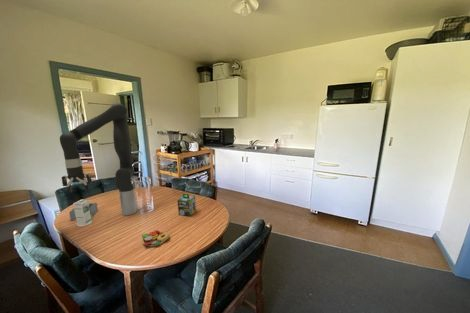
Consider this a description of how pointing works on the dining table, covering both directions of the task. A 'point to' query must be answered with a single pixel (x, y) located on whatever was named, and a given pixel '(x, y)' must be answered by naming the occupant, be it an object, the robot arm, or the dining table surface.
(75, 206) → the syrup box
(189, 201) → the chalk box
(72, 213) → the housing
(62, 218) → the dining table surface
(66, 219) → the dining table surface
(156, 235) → the toy food set
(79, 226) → the coaster
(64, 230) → the dining table surface
